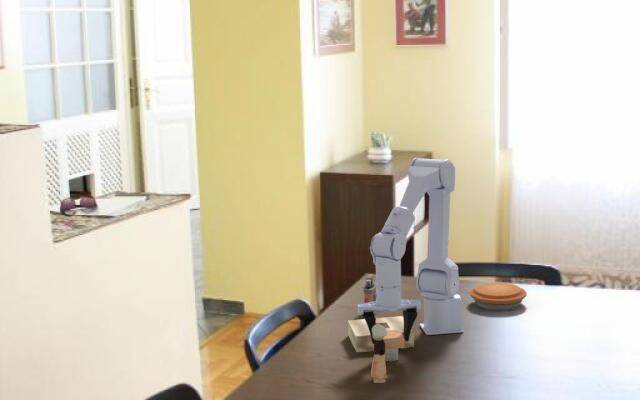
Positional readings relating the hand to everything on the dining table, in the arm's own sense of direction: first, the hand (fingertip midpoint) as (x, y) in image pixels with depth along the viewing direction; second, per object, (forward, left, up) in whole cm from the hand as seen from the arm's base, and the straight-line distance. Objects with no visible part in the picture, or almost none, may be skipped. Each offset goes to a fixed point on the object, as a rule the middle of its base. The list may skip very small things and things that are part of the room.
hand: (390, 341), depth 208 cm
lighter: (-2, -35, -5) cm, 35 cm away
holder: (0, -12, -4) cm, 13 cm away
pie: (-37, -33, -5) cm, 50 cm away
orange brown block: (0, 0, -4) cm, 4 cm away
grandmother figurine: (+5, +12, -5) cm, 14 cm away
